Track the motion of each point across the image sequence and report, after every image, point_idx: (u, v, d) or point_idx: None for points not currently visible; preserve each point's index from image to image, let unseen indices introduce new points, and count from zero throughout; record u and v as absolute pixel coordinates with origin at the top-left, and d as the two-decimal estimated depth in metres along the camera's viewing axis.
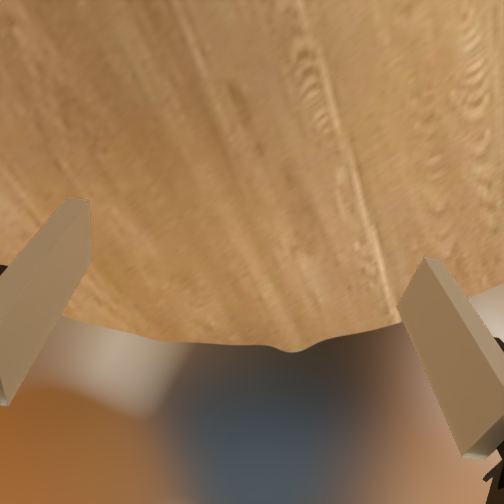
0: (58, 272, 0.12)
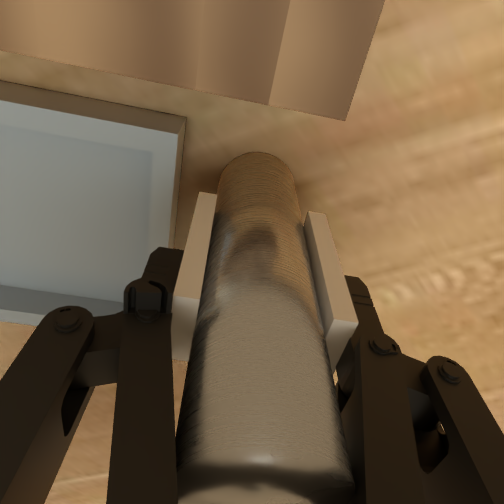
0: (207, 254, 0.14)
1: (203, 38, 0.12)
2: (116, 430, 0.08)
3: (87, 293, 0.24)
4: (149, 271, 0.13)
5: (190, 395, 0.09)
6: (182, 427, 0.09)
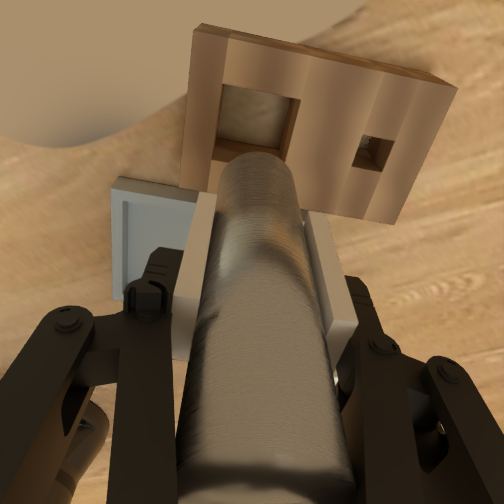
0: None
1: (341, 197, 0.31)
2: (116, 430, 0.08)
3: None
4: (149, 271, 0.13)
5: (190, 394, 0.09)
6: (182, 426, 0.09)
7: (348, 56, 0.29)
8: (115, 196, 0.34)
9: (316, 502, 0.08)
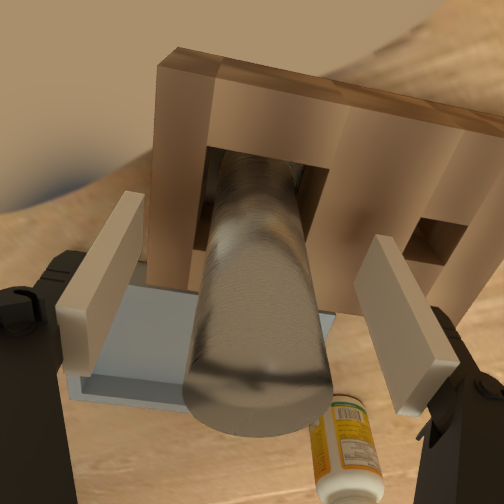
0: (124, 259, 0.13)
1: None
2: None
3: None
4: (46, 278, 0.11)
5: (200, 318, 0.11)
6: (194, 341, 0.11)
7: (396, 96, 0.20)
8: None
9: (301, 400, 0.10)
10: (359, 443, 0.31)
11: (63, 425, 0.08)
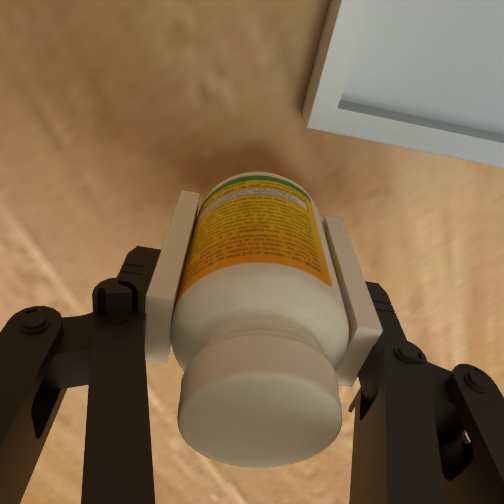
0: (187, 254, 0.14)
1: None
2: (89, 435, 0.08)
3: None
4: (125, 271, 0.12)
5: None
6: None
7: None
8: None
9: None
10: None
11: (147, 412, 0.08)
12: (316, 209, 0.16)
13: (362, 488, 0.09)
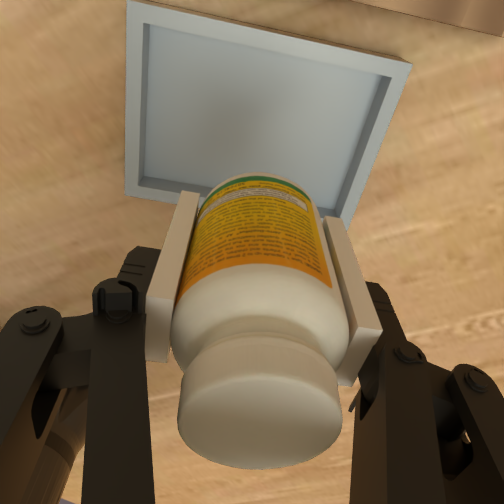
0: (187, 254, 0.14)
1: None
2: (89, 435, 0.08)
3: None
4: (125, 271, 0.12)
5: None
6: None
7: None
8: (133, 14, 0.23)
9: None
10: None
11: (147, 412, 0.08)
12: (316, 210, 0.16)
13: (362, 488, 0.09)
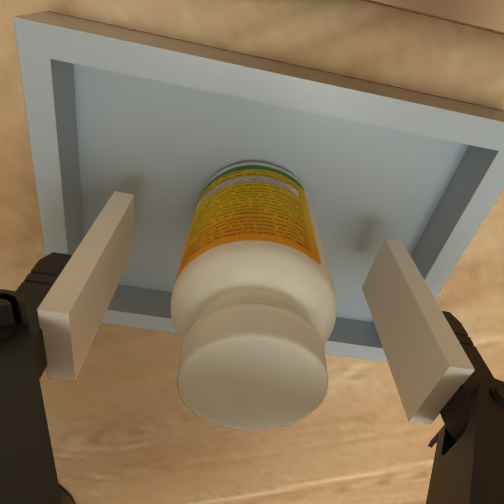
0: (112, 260, 0.13)
1: None
2: None
3: None
4: (31, 280, 0.11)
5: None
6: None
7: None
8: (29, 44, 0.12)
9: None
10: None
11: (47, 429, 0.07)
12: (309, 198, 0.17)
13: None
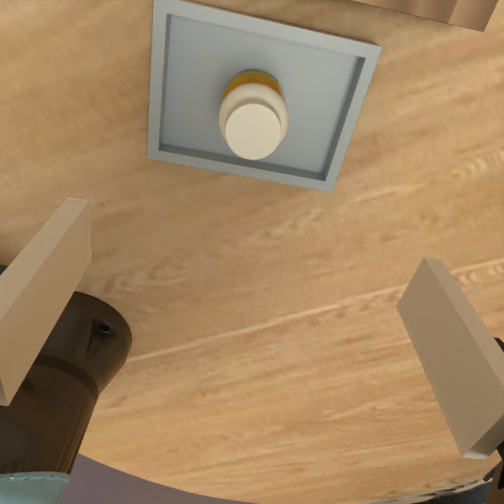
0: (58, 272, 0.12)
1: None
2: None
3: (285, 163, 0.39)
4: None
5: None
6: None
7: None
8: (158, 6, 0.30)
9: None
10: None
11: None
12: (280, 87, 0.34)
13: None
